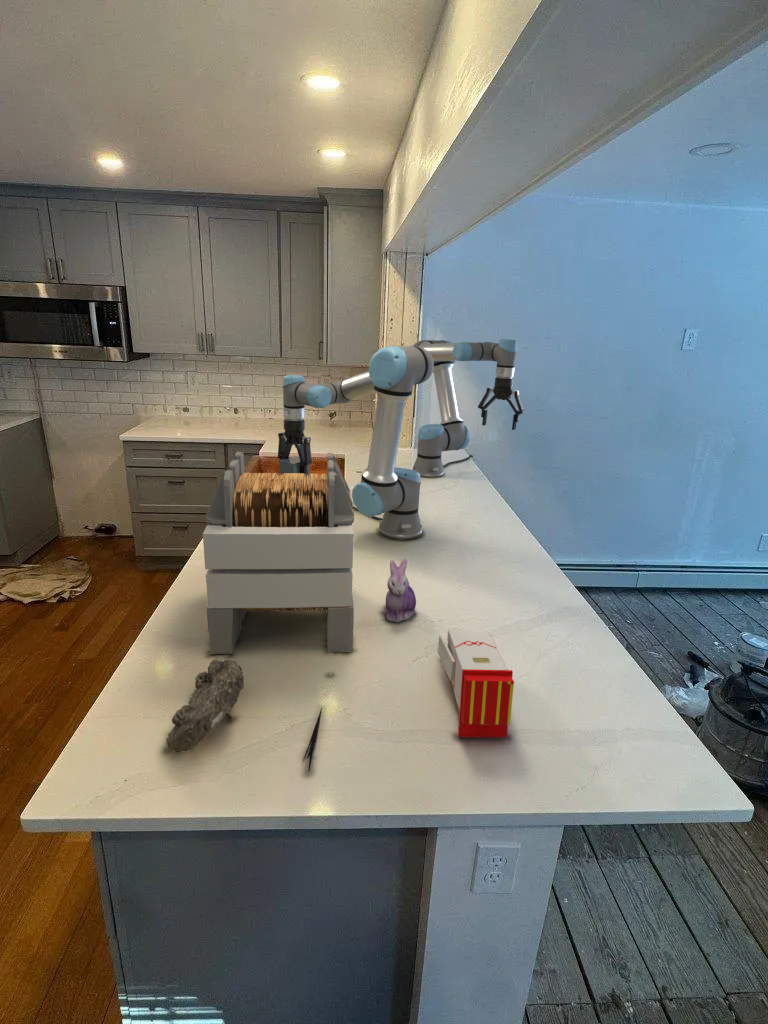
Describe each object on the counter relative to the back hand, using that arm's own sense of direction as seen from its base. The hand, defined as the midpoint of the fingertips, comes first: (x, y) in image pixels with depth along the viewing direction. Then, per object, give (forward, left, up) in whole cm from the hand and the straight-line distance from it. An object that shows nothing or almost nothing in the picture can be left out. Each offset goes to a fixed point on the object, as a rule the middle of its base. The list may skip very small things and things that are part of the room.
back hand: (498, 427), depth 247 cm
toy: (+135, +63, -28) cm, 152 cm away
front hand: (+82, -42, -15) cm, 94 cm away
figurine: (+119, +33, -28) cm, 126 cm away
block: (+82, -42, -17) cm, 94 cm away
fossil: (+174, +29, -28) cm, 178 cm away
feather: (+161, +45, -28) cm, 170 cm away
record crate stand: (+139, +12, -28) cm, 142 cm away
